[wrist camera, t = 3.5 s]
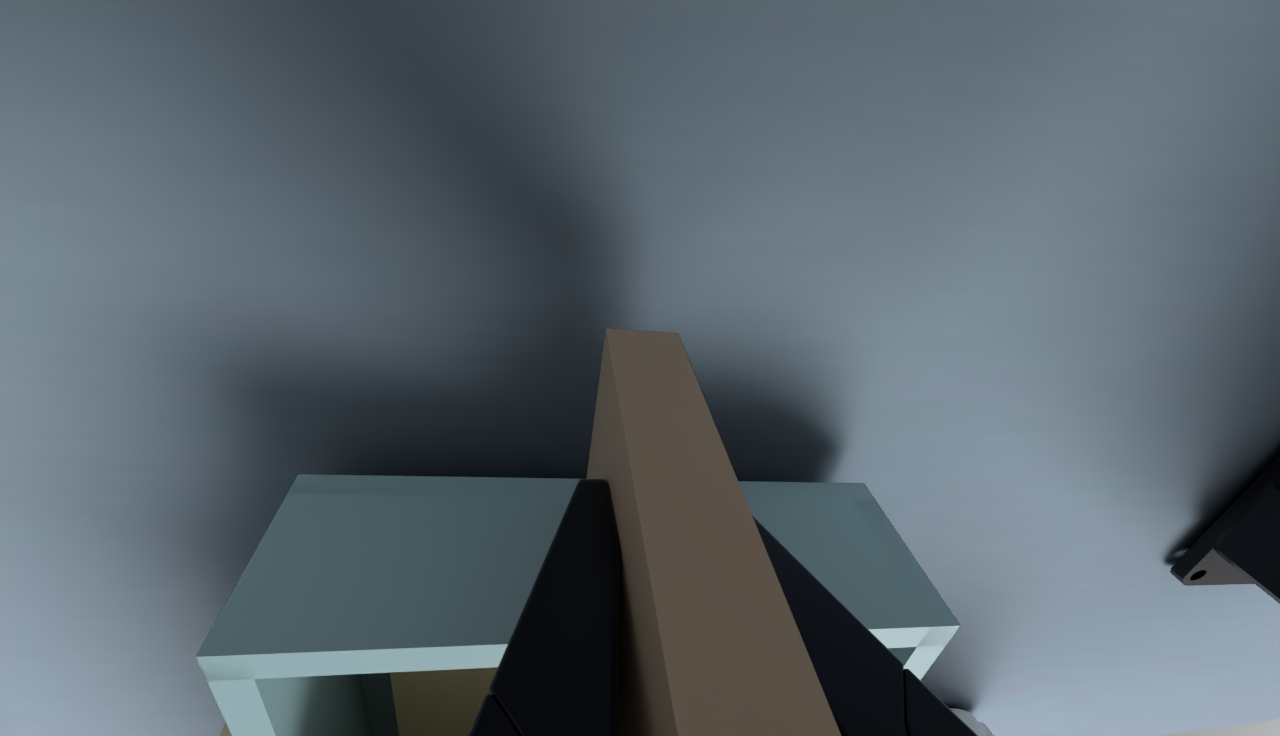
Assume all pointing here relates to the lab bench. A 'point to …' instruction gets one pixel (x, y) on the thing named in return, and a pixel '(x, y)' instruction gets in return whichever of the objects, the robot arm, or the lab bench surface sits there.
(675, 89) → the lab bench surface
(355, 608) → the tray
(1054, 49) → the lab bench surface
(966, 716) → the white product package
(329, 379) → the lab bench surface
